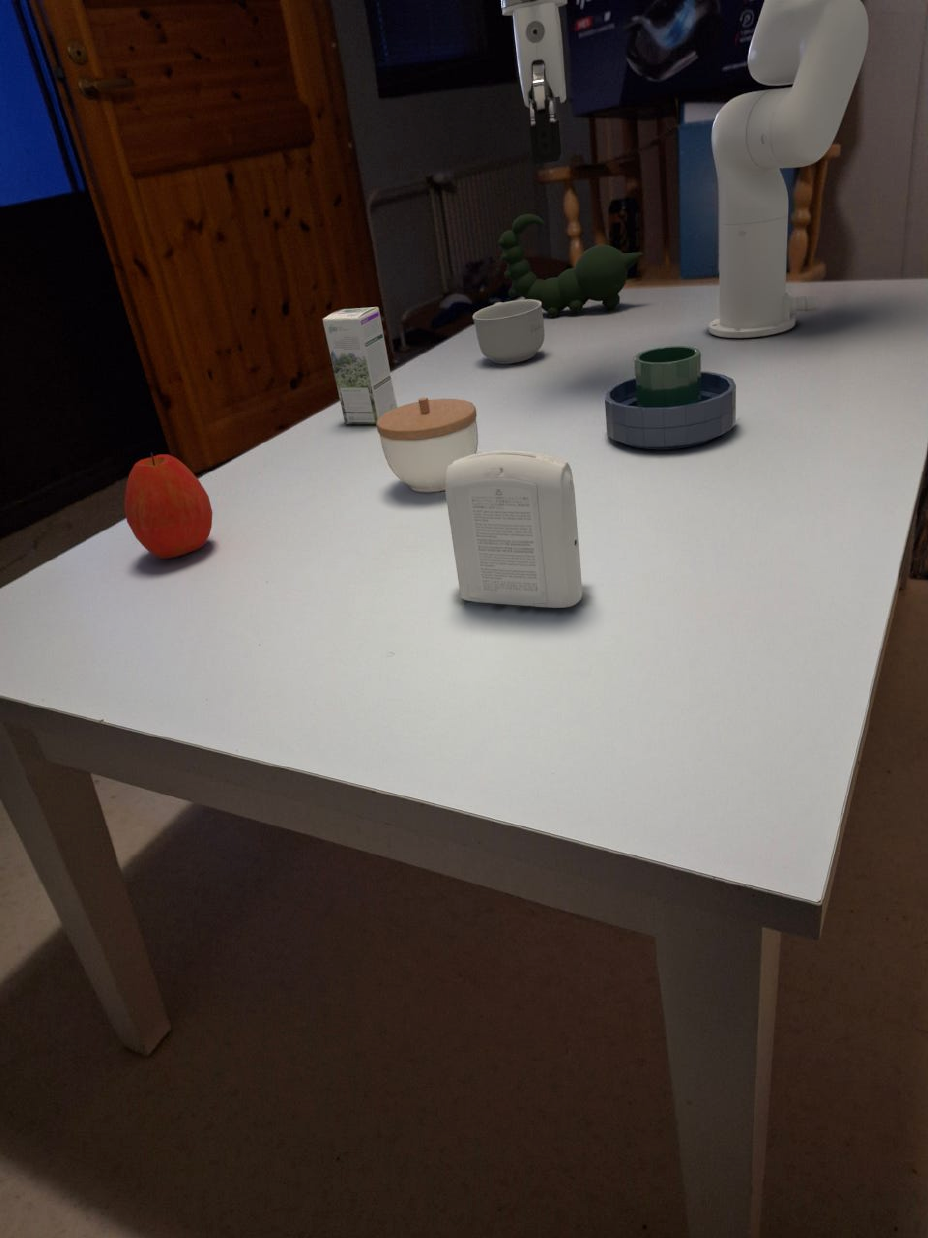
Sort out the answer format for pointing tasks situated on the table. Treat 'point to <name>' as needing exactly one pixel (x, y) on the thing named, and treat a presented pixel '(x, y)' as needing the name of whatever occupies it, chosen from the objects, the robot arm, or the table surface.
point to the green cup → (668, 376)
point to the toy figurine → (566, 274)
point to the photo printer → (514, 529)
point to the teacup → (510, 330)
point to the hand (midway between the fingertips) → (547, 159)
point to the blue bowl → (671, 415)
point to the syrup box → (360, 364)
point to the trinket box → (427, 440)
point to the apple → (167, 507)
